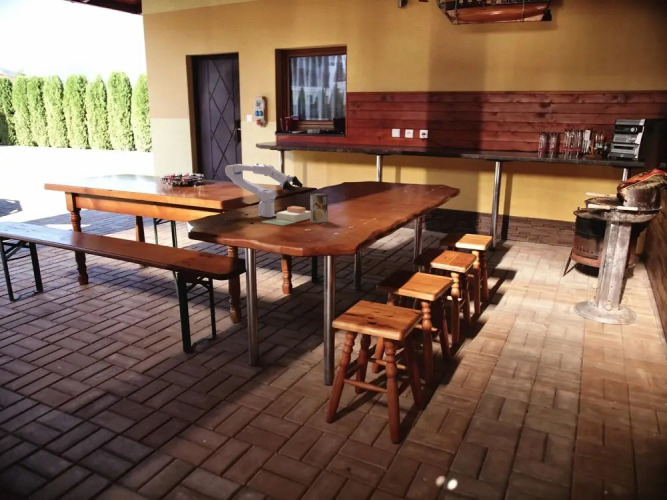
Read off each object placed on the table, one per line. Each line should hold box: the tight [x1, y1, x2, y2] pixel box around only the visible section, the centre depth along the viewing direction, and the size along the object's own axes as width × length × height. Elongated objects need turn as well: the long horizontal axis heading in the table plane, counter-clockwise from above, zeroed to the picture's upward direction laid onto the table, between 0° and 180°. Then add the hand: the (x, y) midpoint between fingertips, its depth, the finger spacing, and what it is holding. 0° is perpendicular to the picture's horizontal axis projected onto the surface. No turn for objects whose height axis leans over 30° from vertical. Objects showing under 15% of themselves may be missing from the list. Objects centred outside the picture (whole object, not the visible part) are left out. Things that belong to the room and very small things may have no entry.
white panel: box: [276, 210, 310, 223], centre depth 314 cm, size 14×16×4 cm
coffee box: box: [309, 193, 329, 224], centre depth 305 cm, size 9×6×16 cm
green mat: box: [261, 218, 297, 227], centre depth 304 cm, size 16×12×1 cm
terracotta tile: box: [286, 205, 306, 213], centre depth 315 cm, size 9×6×2 cm, turn 55°
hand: (298, 188), depth 309 cm, fingers open, 7 cm apart
